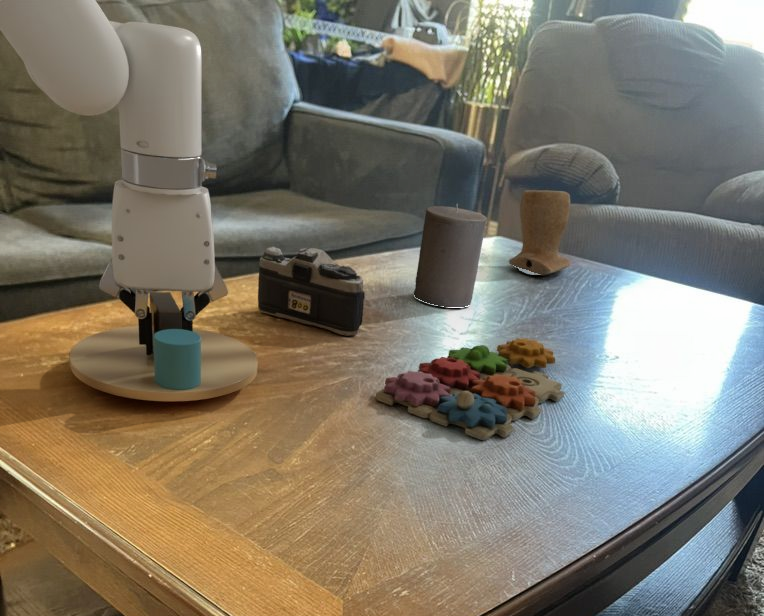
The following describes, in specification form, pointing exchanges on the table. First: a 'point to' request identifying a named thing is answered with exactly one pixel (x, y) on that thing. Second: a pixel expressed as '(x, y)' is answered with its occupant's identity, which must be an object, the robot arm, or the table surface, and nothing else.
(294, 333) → the table surface
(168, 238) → the robot arm
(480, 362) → the gear puzzle
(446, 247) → the pillar candle
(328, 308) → the camera
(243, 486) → the table surface
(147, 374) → the tray
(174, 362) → the teal cylinder block
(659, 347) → the table surface
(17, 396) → the table surface
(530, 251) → the brown flared block
